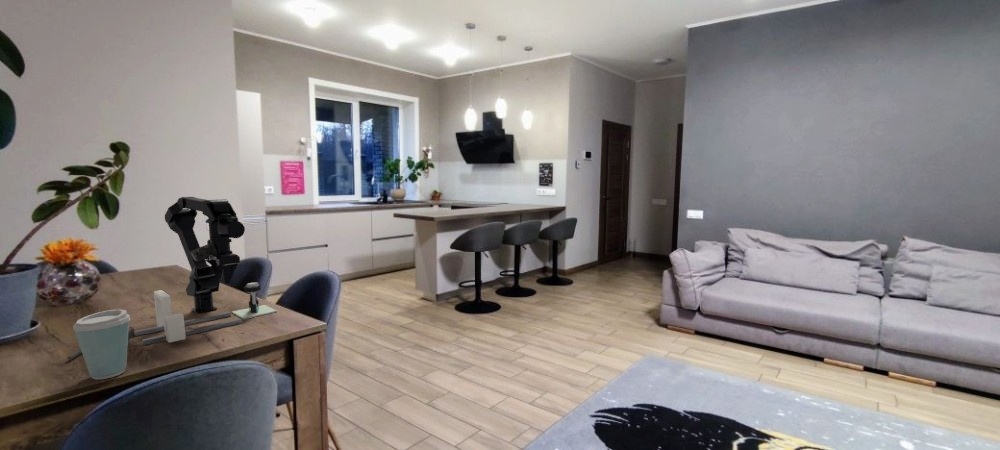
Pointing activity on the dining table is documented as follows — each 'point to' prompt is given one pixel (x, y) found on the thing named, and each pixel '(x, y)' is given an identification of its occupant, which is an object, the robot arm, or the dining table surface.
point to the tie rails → (190, 331)
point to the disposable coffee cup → (104, 342)
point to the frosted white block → (168, 317)
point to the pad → (246, 314)
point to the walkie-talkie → (130, 335)
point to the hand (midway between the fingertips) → (223, 281)
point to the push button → (253, 296)
